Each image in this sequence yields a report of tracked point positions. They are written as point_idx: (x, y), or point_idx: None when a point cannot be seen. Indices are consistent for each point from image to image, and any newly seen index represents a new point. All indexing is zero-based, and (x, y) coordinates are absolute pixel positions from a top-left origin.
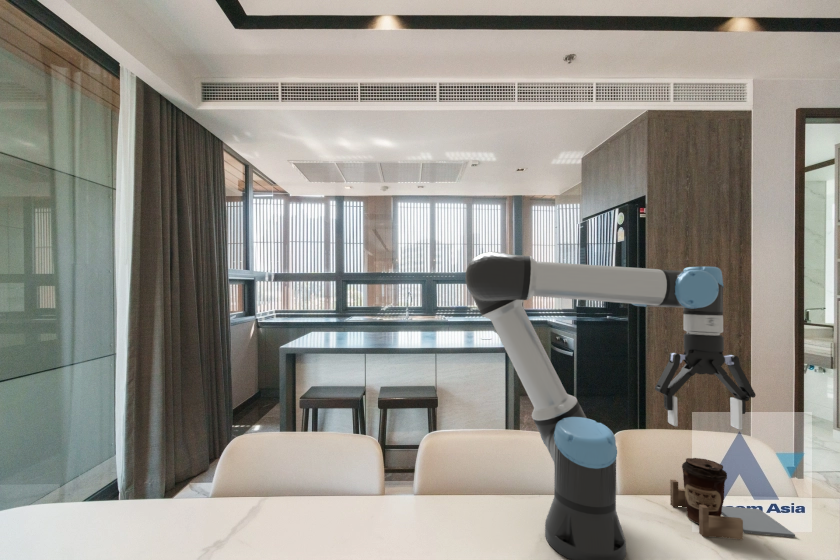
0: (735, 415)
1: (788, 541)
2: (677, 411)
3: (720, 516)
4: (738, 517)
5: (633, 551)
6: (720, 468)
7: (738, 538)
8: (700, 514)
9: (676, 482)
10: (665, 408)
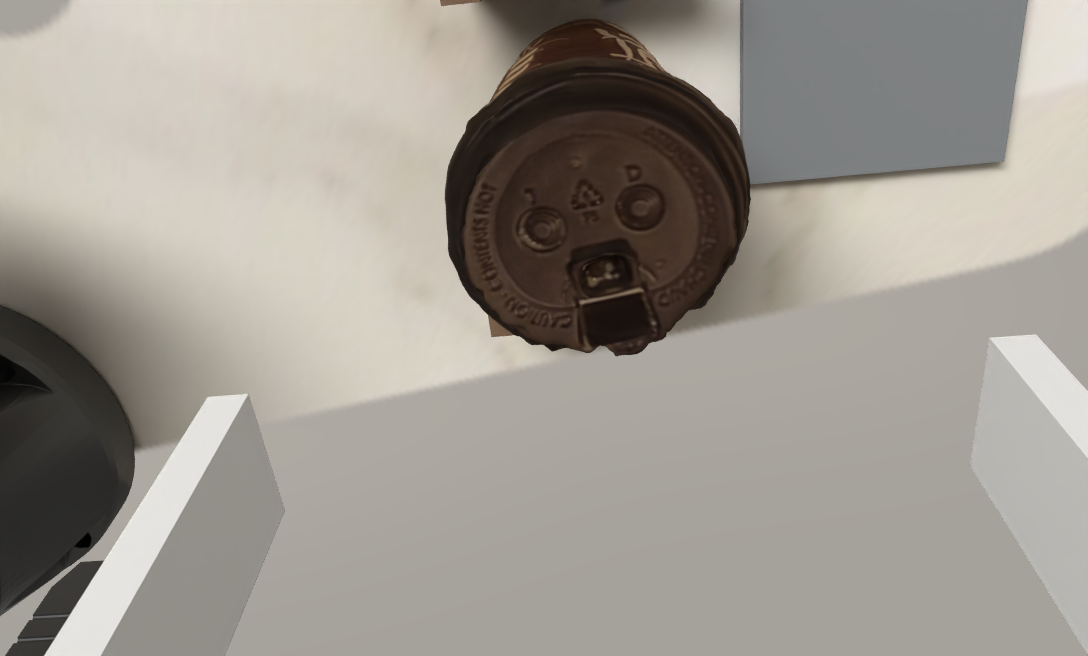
0: (1054, 525)
1: (924, 203)
2: (226, 649)
3: None
4: (804, 46)
5: (167, 438)
6: (667, 329)
7: None
8: None
9: (466, 2)
10: (84, 576)
